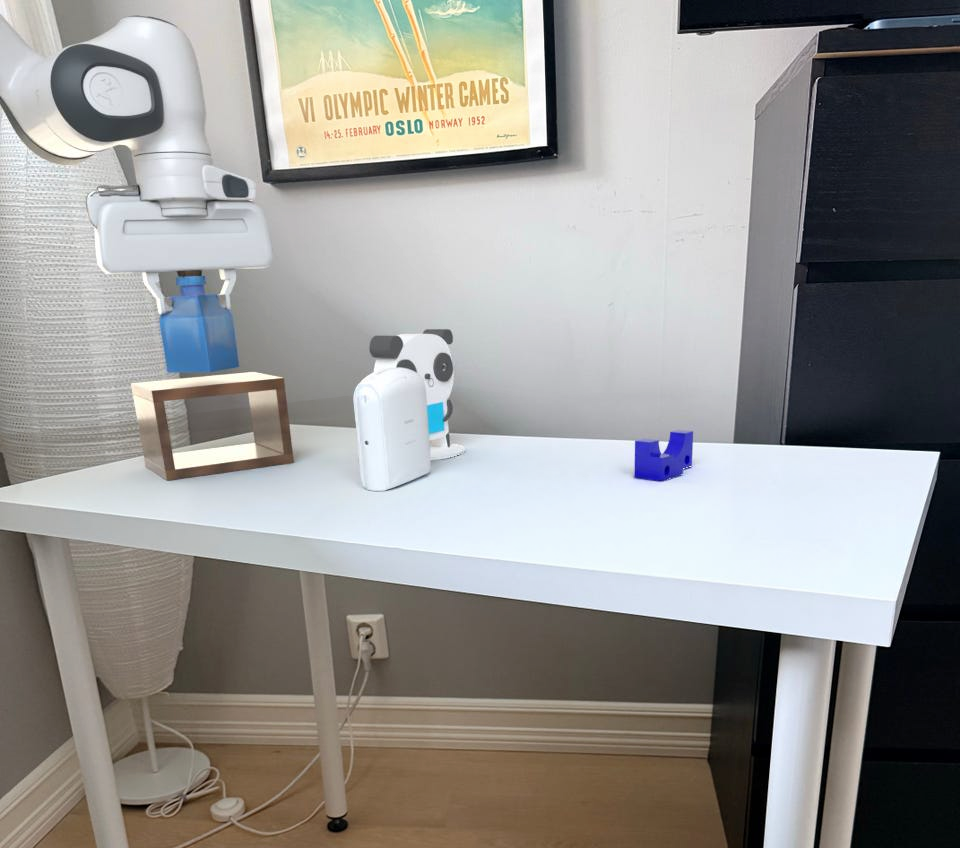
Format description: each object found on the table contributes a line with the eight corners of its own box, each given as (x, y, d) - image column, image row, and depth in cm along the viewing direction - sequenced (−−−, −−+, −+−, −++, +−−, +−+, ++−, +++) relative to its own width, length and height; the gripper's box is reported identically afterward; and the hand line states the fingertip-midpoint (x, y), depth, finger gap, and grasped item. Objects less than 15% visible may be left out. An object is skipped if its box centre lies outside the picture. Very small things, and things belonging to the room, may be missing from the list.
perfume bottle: (198, 367, 119) (183, 266, 114) (239, 366, 117) (225, 264, 112) (167, 372, 113) (150, 267, 109) (210, 372, 111) (194, 264, 107)
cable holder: (661, 481, 98) (662, 443, 97) (634, 477, 101) (635, 440, 99) (703, 468, 103) (704, 432, 102) (676, 465, 106) (677, 429, 104)
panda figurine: (421, 465, 113) (412, 336, 107) (356, 457, 119) (344, 335, 114) (483, 449, 121) (477, 328, 116) (419, 442, 128) (411, 328, 122)
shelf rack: (166, 480, 111) (151, 390, 107) (145, 466, 121) (130, 383, 117) (294, 462, 118) (284, 377, 114) (264, 450, 128) (254, 371, 124)
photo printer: (389, 492, 99) (379, 373, 95) (356, 490, 101) (344, 373, 96) (436, 473, 108) (430, 363, 103) (405, 471, 109) (397, 363, 105)
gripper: (86, 182, 100) (111, 317, 105) (269, 183, 109) (283, 307, 115) (77, 188, 105) (101, 316, 110) (252, 188, 115) (267, 307, 120)
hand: (195, 311), depth 113 cm, fingers closed on perfume bottle, 5 cm apart
